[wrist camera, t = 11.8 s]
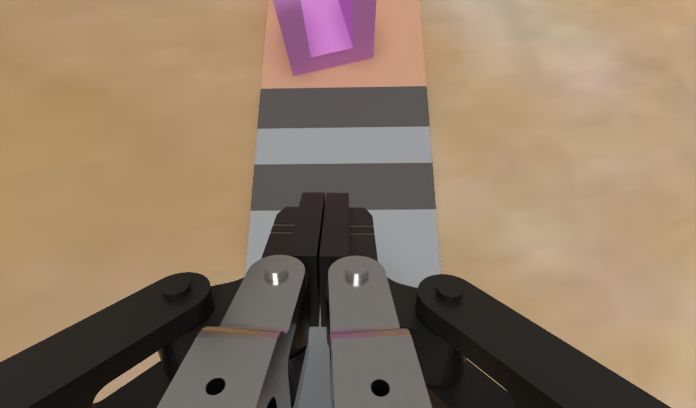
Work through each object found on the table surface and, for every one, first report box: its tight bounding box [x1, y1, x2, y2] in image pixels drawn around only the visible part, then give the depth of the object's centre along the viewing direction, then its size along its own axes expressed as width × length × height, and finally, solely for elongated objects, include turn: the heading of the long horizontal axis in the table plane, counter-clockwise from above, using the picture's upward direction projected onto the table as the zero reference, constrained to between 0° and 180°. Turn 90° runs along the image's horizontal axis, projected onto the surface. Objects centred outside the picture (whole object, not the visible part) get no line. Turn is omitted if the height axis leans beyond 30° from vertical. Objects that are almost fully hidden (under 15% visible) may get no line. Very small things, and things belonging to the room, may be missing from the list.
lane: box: [245, 0, 441, 408], centre depth 23 cm, size 11×36×2 cm, turn 0°
